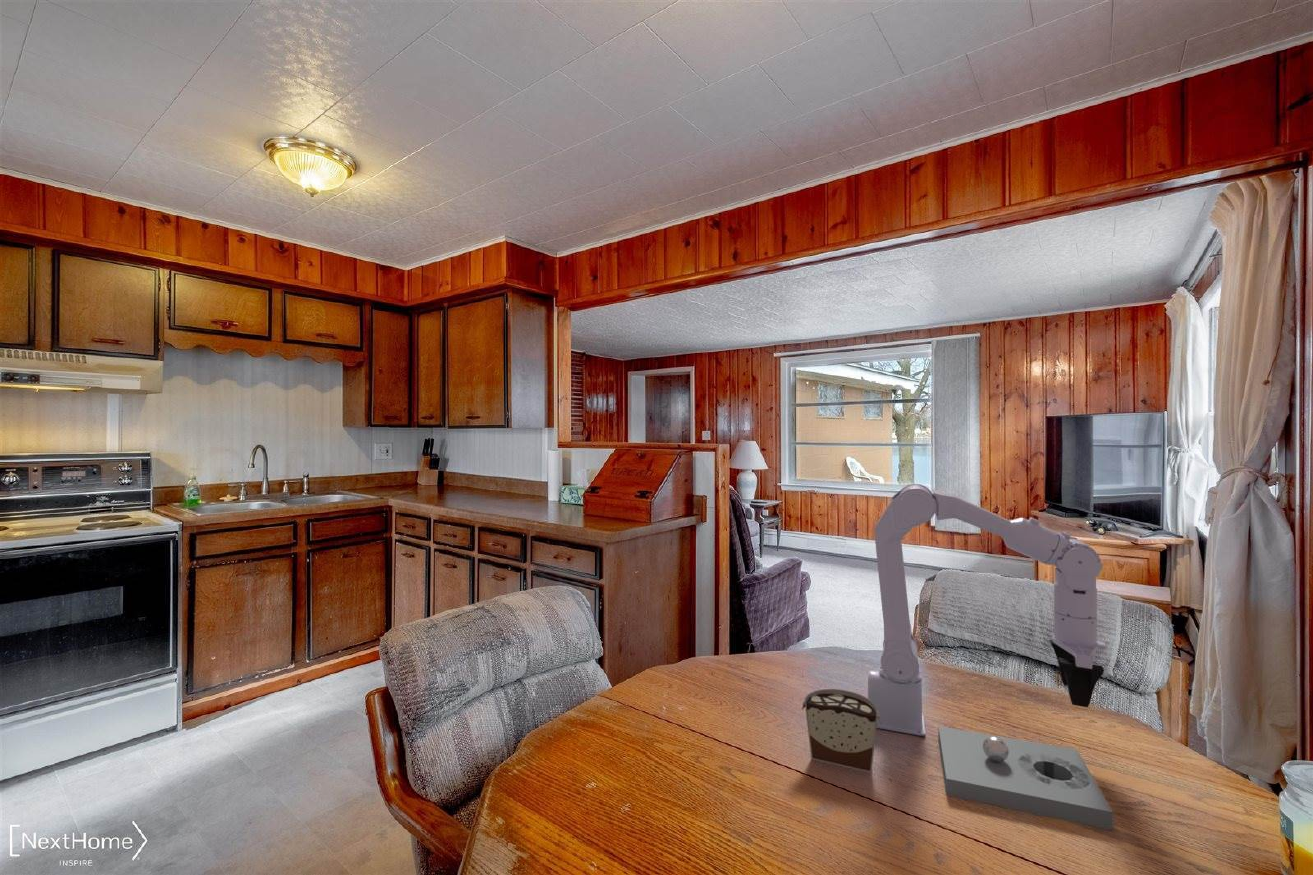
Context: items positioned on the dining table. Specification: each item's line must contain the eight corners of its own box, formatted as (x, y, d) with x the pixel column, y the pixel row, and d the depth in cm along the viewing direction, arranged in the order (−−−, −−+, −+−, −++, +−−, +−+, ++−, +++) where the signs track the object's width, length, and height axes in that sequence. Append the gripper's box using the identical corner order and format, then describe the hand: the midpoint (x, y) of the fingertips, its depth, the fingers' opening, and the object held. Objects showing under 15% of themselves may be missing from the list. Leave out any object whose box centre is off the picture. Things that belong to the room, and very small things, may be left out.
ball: (984, 763, 87) (984, 741, 87) (981, 751, 90) (981, 730, 90) (1010, 768, 86) (1010, 745, 86) (1006, 756, 89) (1006, 734, 89)
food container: (883, 754, 94) (883, 695, 94) (881, 775, 89) (881, 712, 89) (808, 738, 99) (808, 682, 99) (802, 757, 94) (801, 697, 94)
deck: (946, 795, 84) (946, 778, 84) (938, 740, 98) (938, 726, 98) (1112, 830, 76) (1112, 812, 76) (1077, 765, 91) (1076, 749, 91)
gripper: (1117, 631, 85) (1117, 720, 85) (1095, 604, 98) (1095, 682, 98) (1060, 624, 88) (1060, 710, 88) (1045, 599, 101) (1046, 674, 101)
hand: (1075, 695), depth 93 cm, fingers open, 7 cm apart
